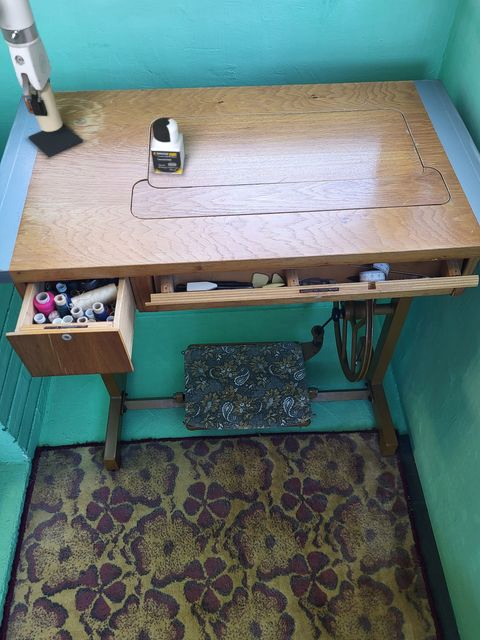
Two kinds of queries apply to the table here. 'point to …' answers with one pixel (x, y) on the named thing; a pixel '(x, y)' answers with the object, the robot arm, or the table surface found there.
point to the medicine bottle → (167, 147)
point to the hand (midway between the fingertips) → (44, 106)
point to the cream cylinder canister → (53, 117)
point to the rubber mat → (55, 140)
